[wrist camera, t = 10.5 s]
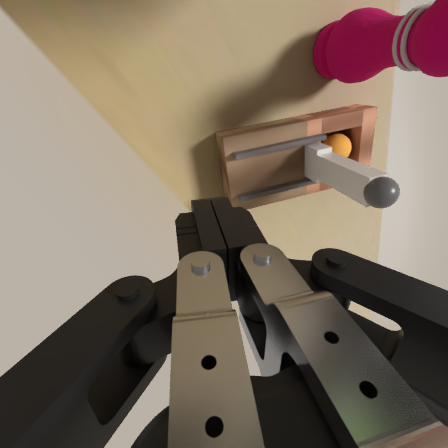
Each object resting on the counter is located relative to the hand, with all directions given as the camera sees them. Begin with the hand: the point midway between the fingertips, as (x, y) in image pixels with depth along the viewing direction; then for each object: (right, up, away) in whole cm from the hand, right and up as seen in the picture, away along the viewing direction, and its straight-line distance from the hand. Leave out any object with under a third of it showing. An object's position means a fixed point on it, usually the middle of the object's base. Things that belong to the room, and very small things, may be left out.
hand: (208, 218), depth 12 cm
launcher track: (+10, +10, +29) cm, 32 cm away
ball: (+17, +11, +28) cm, 34 cm away
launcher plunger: (+12, +8, +25) cm, 29 cm away
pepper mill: (+15, +22, +24) cm, 36 cm away
